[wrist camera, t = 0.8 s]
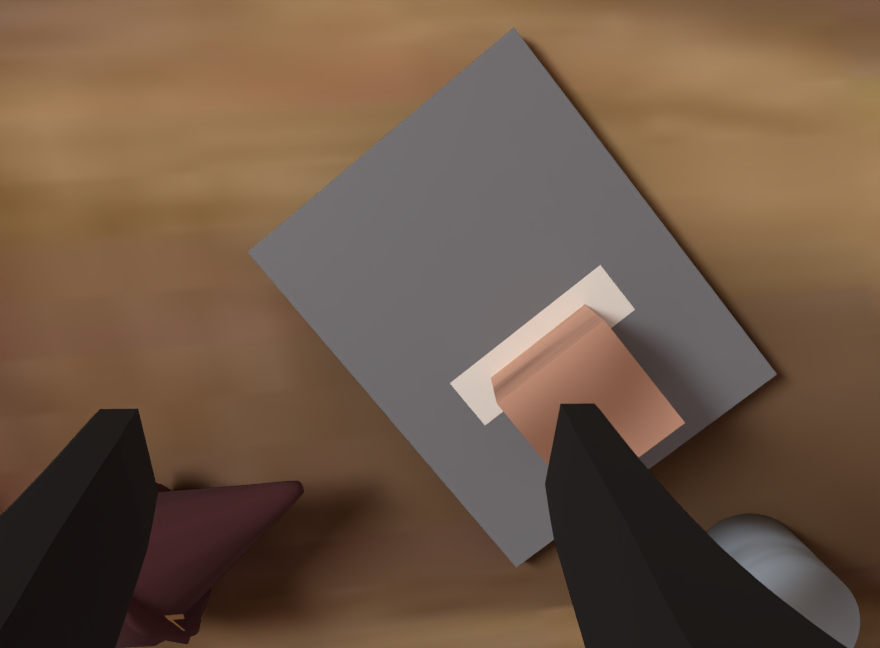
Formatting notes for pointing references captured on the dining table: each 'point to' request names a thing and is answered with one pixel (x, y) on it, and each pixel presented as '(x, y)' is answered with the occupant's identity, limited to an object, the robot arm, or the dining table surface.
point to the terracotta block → (583, 385)
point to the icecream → (196, 554)
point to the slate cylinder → (790, 572)
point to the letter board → (499, 280)
